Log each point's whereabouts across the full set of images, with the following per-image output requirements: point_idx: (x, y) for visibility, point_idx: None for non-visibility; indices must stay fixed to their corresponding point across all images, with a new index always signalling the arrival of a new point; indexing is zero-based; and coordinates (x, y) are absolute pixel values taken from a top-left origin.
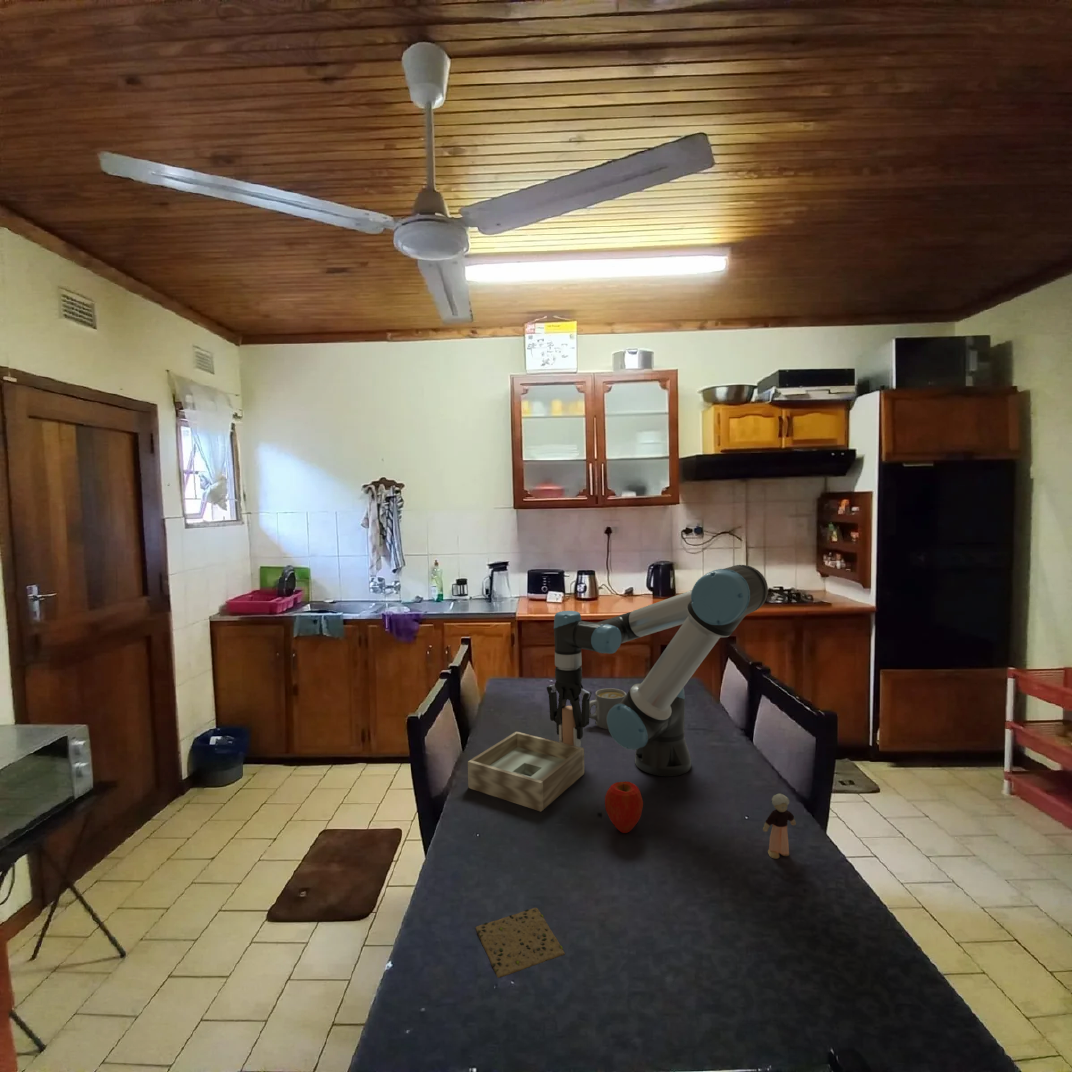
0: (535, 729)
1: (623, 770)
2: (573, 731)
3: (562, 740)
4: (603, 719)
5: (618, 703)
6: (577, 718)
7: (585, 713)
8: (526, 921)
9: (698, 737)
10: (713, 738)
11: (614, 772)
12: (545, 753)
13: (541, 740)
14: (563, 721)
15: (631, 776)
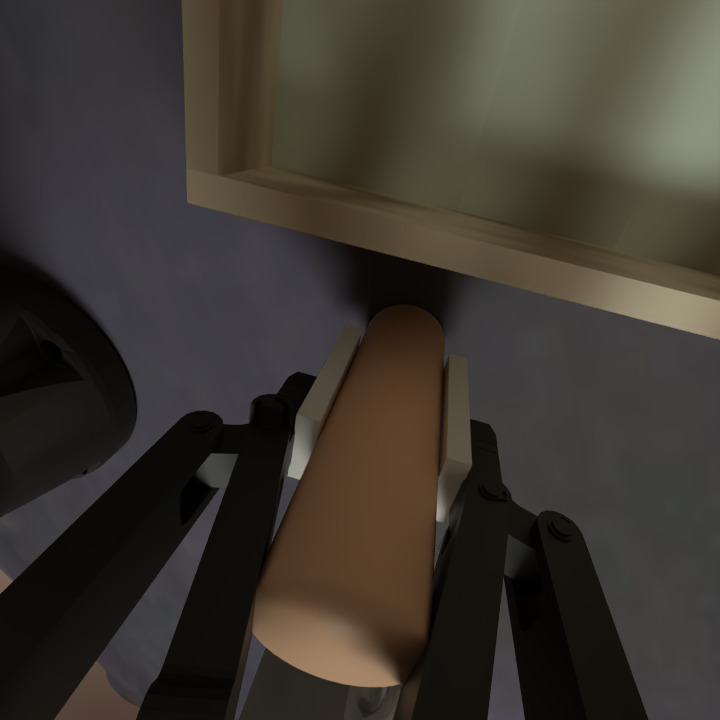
0: (656, 587)
1: (127, 278)
2: (326, 403)
3: (444, 388)
4: None
5: (252, 709)
6: (233, 486)
7: (80, 520)
8: None
9: None
10: (25, 546)
11: (150, 245)
12: (551, 236)
13: (620, 274)
14: (410, 474)
15: (69, 228)
